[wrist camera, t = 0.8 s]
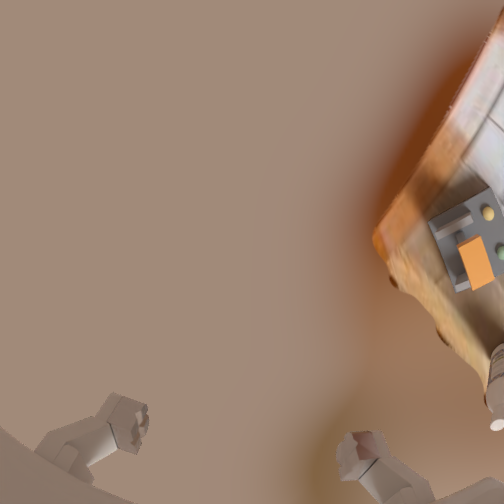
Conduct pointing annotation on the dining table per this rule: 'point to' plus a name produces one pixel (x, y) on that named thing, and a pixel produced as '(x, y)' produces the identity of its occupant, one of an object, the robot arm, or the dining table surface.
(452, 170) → the dining table surface
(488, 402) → the bath foam
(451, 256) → the grey knob panel
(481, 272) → the lever
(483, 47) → the dining table surface
